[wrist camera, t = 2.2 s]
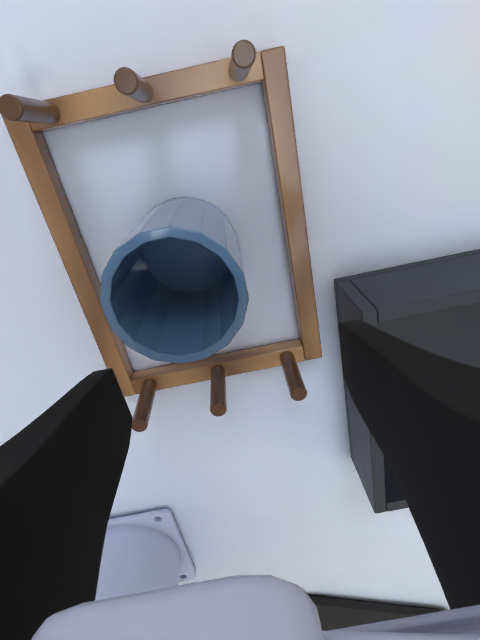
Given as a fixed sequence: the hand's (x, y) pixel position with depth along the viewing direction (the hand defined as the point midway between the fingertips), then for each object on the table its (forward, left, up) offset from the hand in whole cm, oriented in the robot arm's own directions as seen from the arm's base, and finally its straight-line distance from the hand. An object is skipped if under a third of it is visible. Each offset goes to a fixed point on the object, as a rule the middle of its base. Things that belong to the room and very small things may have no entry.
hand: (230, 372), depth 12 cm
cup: (-2, +2, -9) cm, 10 cm away
